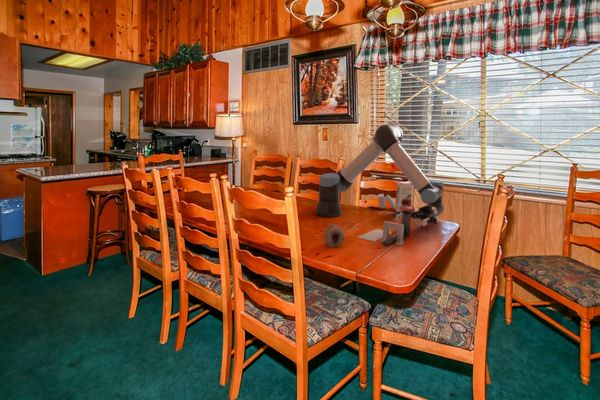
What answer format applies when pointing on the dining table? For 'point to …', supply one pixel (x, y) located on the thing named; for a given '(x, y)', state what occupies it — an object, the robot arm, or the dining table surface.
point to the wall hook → (382, 201)
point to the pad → (373, 235)
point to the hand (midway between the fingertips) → (409, 220)
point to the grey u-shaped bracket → (399, 232)
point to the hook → (405, 221)
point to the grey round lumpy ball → (334, 236)
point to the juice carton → (404, 195)
